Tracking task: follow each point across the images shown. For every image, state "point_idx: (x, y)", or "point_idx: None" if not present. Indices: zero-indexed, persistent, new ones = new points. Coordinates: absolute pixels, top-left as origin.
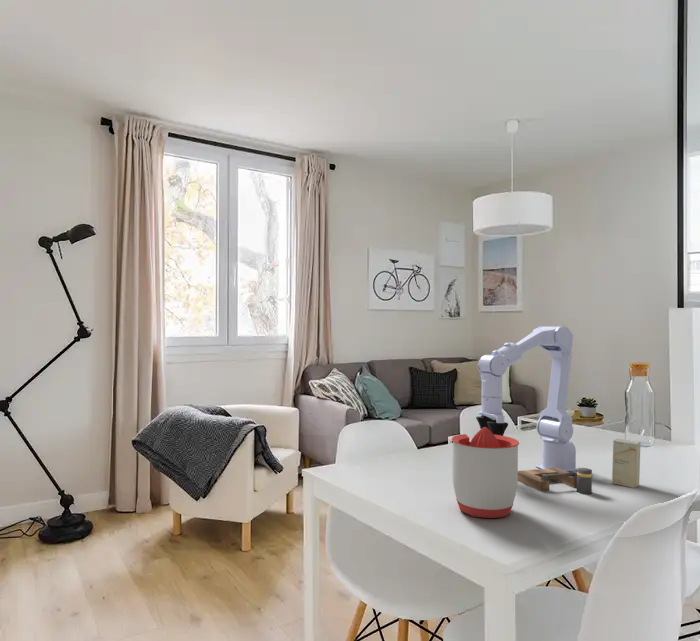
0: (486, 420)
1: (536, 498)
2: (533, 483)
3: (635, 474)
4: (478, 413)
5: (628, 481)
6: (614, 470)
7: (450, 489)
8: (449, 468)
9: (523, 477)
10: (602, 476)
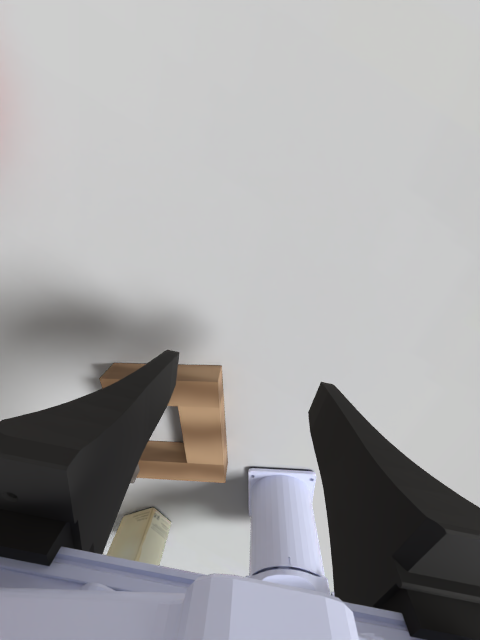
0: (367, 546)
1: (53, 319)
2: (134, 371)
3: (110, 547)
4: (254, 614)
5: (126, 524)
6: (138, 539)
7: (159, 63)
8: (440, 232)
9: (178, 375)
10: (204, 521)
